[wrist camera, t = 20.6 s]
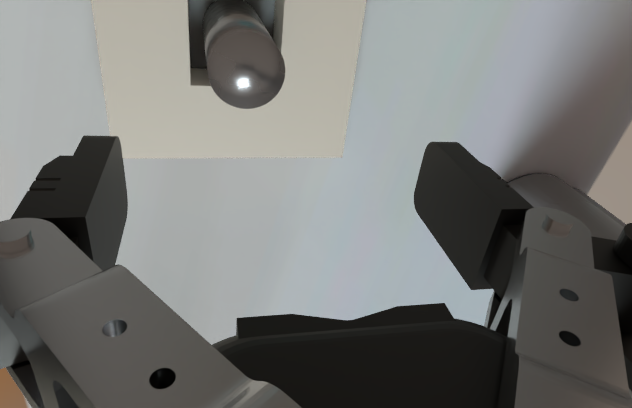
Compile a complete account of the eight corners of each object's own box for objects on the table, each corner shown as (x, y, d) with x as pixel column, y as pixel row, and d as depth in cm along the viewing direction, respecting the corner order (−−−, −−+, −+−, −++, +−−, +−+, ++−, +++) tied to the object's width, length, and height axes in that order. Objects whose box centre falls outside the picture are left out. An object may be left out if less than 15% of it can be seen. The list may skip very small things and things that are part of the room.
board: (361, -96, 24) (381, -95, 21) (330, 137, 31) (342, 157, 28) (86, -133, 20) (71, -138, 18) (120, 135, 27) (113, 158, 25)
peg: (260, -3, 25) (285, 31, 18) (261, 57, 27) (284, 107, 20) (200, -4, 24) (204, 31, 18) (204, 57, 26) (210, 110, 20)
